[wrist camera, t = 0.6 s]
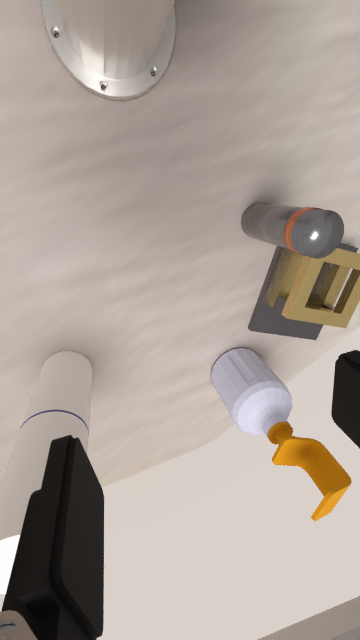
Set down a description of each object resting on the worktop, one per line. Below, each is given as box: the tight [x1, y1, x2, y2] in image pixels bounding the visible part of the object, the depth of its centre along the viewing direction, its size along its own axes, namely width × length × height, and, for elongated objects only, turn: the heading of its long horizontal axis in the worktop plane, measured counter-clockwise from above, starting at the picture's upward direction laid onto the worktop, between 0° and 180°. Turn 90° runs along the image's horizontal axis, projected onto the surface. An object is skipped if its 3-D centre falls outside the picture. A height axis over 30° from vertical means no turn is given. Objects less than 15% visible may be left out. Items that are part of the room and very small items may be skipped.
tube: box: [241, 203, 344, 259], centre depth 34 cm, size 5×5×14 cm
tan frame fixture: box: [248, 243, 360, 340], centre depth 44 cm, size 16×13×6 cm
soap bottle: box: [211, 348, 351, 521], centre depth 40 cm, size 9×9×25 cm
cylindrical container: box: [0, 351, 93, 594], centre depth 32 cm, size 7×7×25 cm
